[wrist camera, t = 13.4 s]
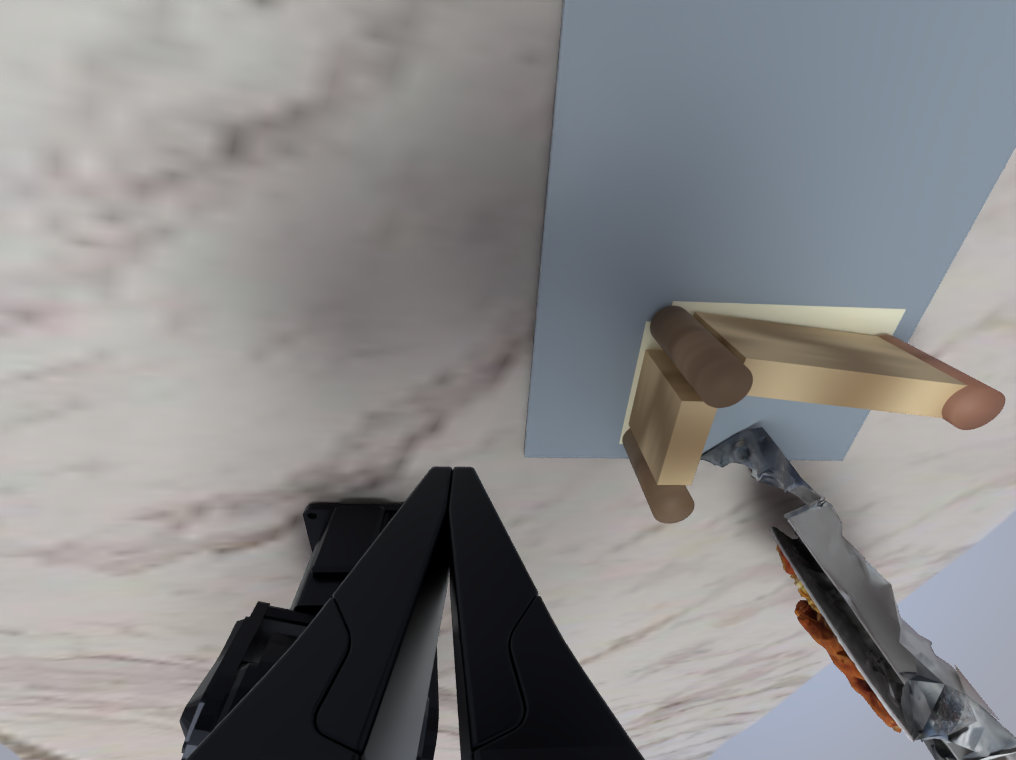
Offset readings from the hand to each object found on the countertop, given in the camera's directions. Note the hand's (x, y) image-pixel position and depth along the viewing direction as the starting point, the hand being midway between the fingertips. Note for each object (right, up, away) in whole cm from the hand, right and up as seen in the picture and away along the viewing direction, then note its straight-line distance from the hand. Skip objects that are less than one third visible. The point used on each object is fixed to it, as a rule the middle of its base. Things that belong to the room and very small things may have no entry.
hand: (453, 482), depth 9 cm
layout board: (+11, +7, +11) cm, 17 cm away
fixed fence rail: (+8, +1, +13) cm, 16 cm away
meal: (+17, -6, +18) cm, 26 cm away
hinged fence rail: (+14, +4, +11) cm, 18 cm away
